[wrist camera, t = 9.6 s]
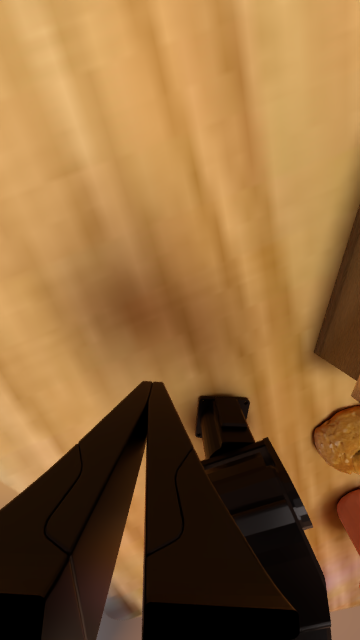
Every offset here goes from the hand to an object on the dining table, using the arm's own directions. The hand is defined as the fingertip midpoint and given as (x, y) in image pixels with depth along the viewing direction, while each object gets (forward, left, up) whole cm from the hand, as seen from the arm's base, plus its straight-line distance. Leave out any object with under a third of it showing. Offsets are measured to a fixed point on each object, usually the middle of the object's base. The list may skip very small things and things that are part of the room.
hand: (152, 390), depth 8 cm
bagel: (-16, -26, -13) cm, 34 cm away
